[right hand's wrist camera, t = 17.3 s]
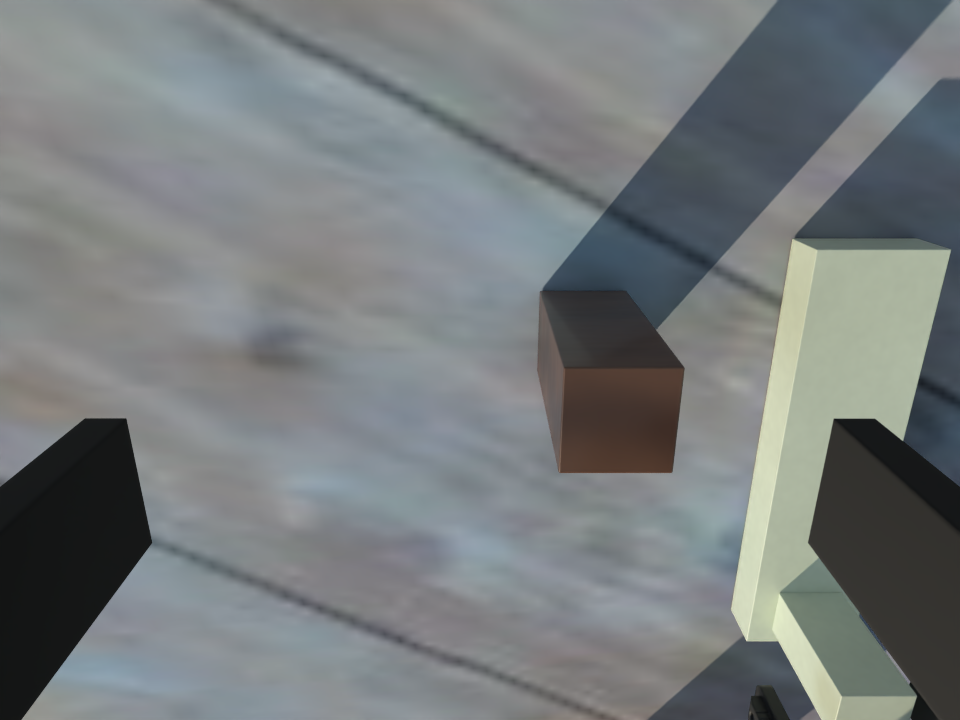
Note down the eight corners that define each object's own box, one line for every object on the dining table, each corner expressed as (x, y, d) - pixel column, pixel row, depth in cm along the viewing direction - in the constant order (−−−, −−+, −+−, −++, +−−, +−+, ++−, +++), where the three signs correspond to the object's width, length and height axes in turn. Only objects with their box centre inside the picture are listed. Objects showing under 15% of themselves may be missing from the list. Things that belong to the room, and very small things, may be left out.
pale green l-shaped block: (792, 238, 38) (907, 290, 28) (917, 238, 38) (1079, 289, 28) (730, 609, 47) (800, 750, 37) (831, 609, 47) (928, 751, 37)
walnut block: (539, 290, 39) (563, 367, 28) (626, 290, 39) (685, 367, 28) (537, 371, 41) (558, 473, 30) (620, 371, 41) (672, 473, 30)
